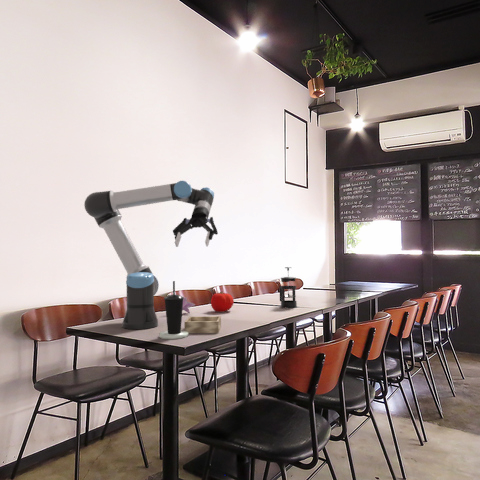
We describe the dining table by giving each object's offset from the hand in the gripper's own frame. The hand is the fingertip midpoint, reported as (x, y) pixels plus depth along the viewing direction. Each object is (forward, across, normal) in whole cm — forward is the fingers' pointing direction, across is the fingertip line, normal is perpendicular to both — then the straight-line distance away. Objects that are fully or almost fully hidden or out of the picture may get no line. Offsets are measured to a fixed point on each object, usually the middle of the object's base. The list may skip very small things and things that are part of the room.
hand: (191, 244), depth 177 cm
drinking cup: (+37, +2, -12) cm, 39 cm away
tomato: (-9, -1, -60) cm, 61 cm away
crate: (+28, -6, -23) cm, 36 cm away
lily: (-2, +18, -53) cm, 56 cm away
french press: (-25, -34, -76) cm, 87 cm away
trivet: (+37, +2, -13) cm, 40 cm away
